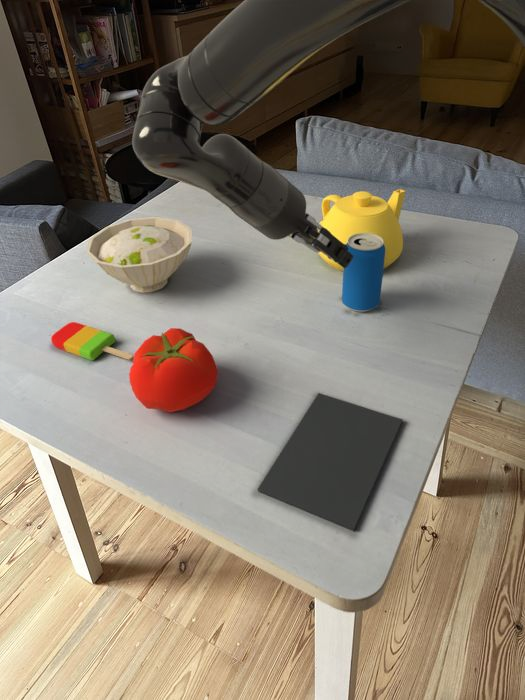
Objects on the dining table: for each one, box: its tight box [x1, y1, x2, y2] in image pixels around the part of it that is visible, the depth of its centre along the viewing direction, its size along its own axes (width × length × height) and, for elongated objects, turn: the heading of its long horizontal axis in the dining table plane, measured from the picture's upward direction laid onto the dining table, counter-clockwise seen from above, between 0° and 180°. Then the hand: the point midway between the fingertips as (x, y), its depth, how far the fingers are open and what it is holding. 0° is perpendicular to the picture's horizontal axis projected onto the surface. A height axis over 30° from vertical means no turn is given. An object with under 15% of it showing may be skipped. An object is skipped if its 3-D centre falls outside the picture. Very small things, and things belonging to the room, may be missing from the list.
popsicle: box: [50, 321, 134, 361], centre depth 86 cm, size 6×15×2 cm, turn 61°
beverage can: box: [341, 233, 386, 313], centre depth 89 cm, size 6×6×12 cm
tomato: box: [128, 327, 219, 413], centre depth 75 cm, size 13×12×8 cm
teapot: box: [317, 188, 406, 272], centre depth 103 cm, size 20×19×13 cm
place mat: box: [257, 392, 403, 532], centre depth 67 cm, size 18×12×1 cm, turn 152°
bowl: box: [85, 216, 193, 294], centre depth 98 cm, size 19×19×10 cm
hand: (330, 250), depth 82 cm, fingers open, 8 cm apart
